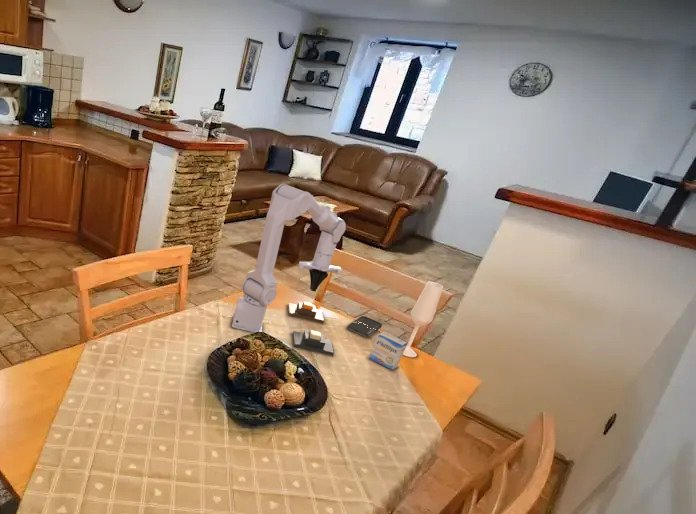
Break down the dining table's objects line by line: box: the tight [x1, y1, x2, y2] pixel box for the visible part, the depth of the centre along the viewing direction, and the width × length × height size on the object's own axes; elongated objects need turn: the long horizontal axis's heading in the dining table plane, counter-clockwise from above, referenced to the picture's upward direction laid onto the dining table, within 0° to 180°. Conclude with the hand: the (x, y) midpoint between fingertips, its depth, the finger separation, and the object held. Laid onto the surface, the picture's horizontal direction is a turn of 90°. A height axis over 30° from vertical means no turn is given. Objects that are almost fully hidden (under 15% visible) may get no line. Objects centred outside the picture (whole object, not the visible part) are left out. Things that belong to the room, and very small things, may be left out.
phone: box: [346, 315, 383, 338], centre depth 175 cm, size 8×1×15 cm
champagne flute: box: [402, 280, 444, 358], centre depth 158 cm, size 7×7×24 cm
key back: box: [302, 300, 314, 310], centre depth 174 cm, size 3×3×2 cm
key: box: [309, 329, 322, 340], centre depth 154 cm, size 3×3×2 cm
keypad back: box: [287, 301, 325, 324], centre depth 175 cm, size 12×9×3 cm
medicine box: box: [368, 331, 408, 371], centre depth 152 cm, size 8×4×9 cm, turn 47°
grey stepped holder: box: [292, 329, 335, 357], centre depth 155 cm, size 12×9×3 cm
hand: (312, 290), depth 172 cm, fingers closed
